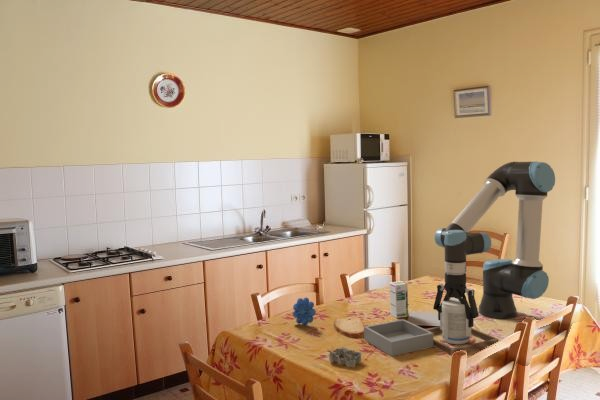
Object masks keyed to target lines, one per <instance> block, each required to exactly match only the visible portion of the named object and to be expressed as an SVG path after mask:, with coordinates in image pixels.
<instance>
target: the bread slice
mask: <svg viewBox="0 0 600 400" xmlns="http://www.w3.org/2000/svg"><path fill="white" fill-rule="evenodd" d="M333 327H334V331H336V332H337V333H338V334H340V335H342V336H344V337H348V338H352V339H364V327H365V325H364V322H363V320H362V319H361V318H360V317H359V316H357V315H351V316H347V317H345V318H341V317H336V318H335V320H334V321H333Z"/></svg>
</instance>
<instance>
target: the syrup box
mask: <svg viewBox="0 0 600 400" xmlns="http://www.w3.org/2000/svg"><path fill="white" fill-rule="evenodd" d="M408 287H409V286H408V283H407V282H405V281H402V280H399V281H390V282H389V302H390V303H389V304H390V307H389V311H390V312H389V313H390V316H392V317H393V318H395V319H399V318H407V317H409V304H408V303H409V301H408V300H409V296H408V290H409V289H408Z"/></svg>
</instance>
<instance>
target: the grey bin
mask: <svg viewBox="0 0 600 400" xmlns="http://www.w3.org/2000/svg"><path fill="white" fill-rule="evenodd" d="M433 339H434V334H433V333H432V332H430V331H428V330H425V328H423V327H421V326H419V325H417V324H414V323H412V322H410V321H408V320H406V319H402V318H401V319H398V320H392V321H387V322H382V323H377V324H371V325H370V324H369V325H366V326H365V325H364V338H363V340H364V341H365V342H367V343H369V344H370V345H372V346H374V347H375V348H377V349H379V350H380V351H382V352H384V353H385V354H386V355H389V356H390V357H395V356H398V355H404V354H408V353H413V352H415V351H422V350H426V349H430V348H434V346H433Z"/></svg>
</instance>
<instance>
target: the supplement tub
mask: <svg viewBox="0 0 600 400" xmlns="http://www.w3.org/2000/svg"><path fill="white" fill-rule="evenodd" d="M441 303H442V332H441V333H442V334H441V335H442V340H443V341H444V342H445V343H448V344H452V345H464V344H467V343H469V341H470V336H468V337H467V336H466V318H468V317H467V315H466V313H465V305H464V304H461V302H460V301H459V300H458V299H456V298H450V300H448V301H443V300H441ZM466 305H467V304H466Z"/></svg>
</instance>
